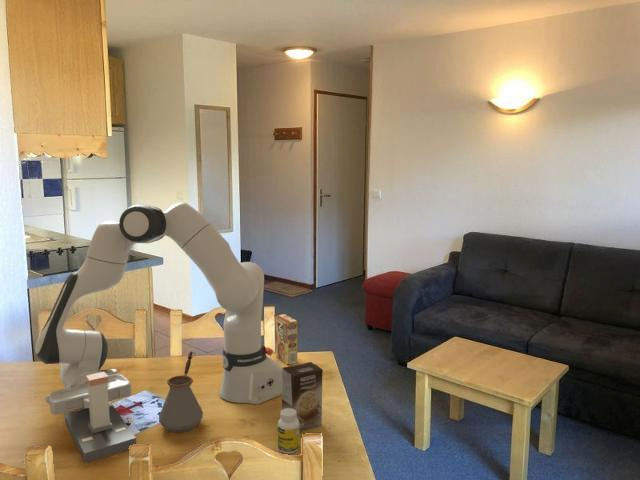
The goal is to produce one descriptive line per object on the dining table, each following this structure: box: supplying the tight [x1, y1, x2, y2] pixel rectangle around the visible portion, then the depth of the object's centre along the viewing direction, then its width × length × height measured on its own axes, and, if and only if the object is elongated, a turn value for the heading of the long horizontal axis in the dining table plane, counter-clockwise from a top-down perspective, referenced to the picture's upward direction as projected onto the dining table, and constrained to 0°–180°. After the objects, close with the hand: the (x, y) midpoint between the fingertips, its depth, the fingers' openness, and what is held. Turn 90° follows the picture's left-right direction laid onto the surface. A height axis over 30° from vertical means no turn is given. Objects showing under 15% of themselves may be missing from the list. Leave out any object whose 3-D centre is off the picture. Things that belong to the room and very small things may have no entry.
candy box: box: [274, 313, 298, 365], centre depth 190 cm, size 9×4×15 cm, turn 33°
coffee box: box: [281, 361, 324, 432], centre depth 146 cm, size 9×6×16 cm
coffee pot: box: [158, 350, 204, 434], centre depth 150 cm, size 21×12×15 cm, turn 1°
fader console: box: [63, 401, 137, 464], centre depth 142 cm, size 12×23×3 cm, turn 35°
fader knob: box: [86, 372, 113, 434], centre depth 138 cm, size 5×4×14 cm
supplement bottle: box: [277, 408, 300, 454], centre depth 135 cm, size 5×5×10 cm
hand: (98, 406), depth 140 cm, fingers closed, pressing on fader knob
